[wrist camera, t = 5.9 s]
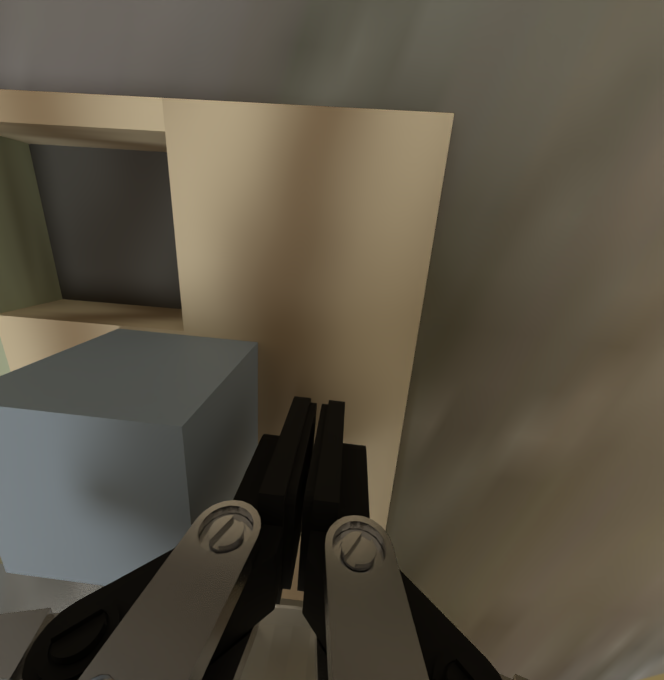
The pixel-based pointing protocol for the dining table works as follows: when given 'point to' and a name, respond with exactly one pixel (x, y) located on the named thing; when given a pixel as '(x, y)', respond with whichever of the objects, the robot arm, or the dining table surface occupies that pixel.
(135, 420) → the block
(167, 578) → the robot arm
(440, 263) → the dining table surface
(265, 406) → the board
